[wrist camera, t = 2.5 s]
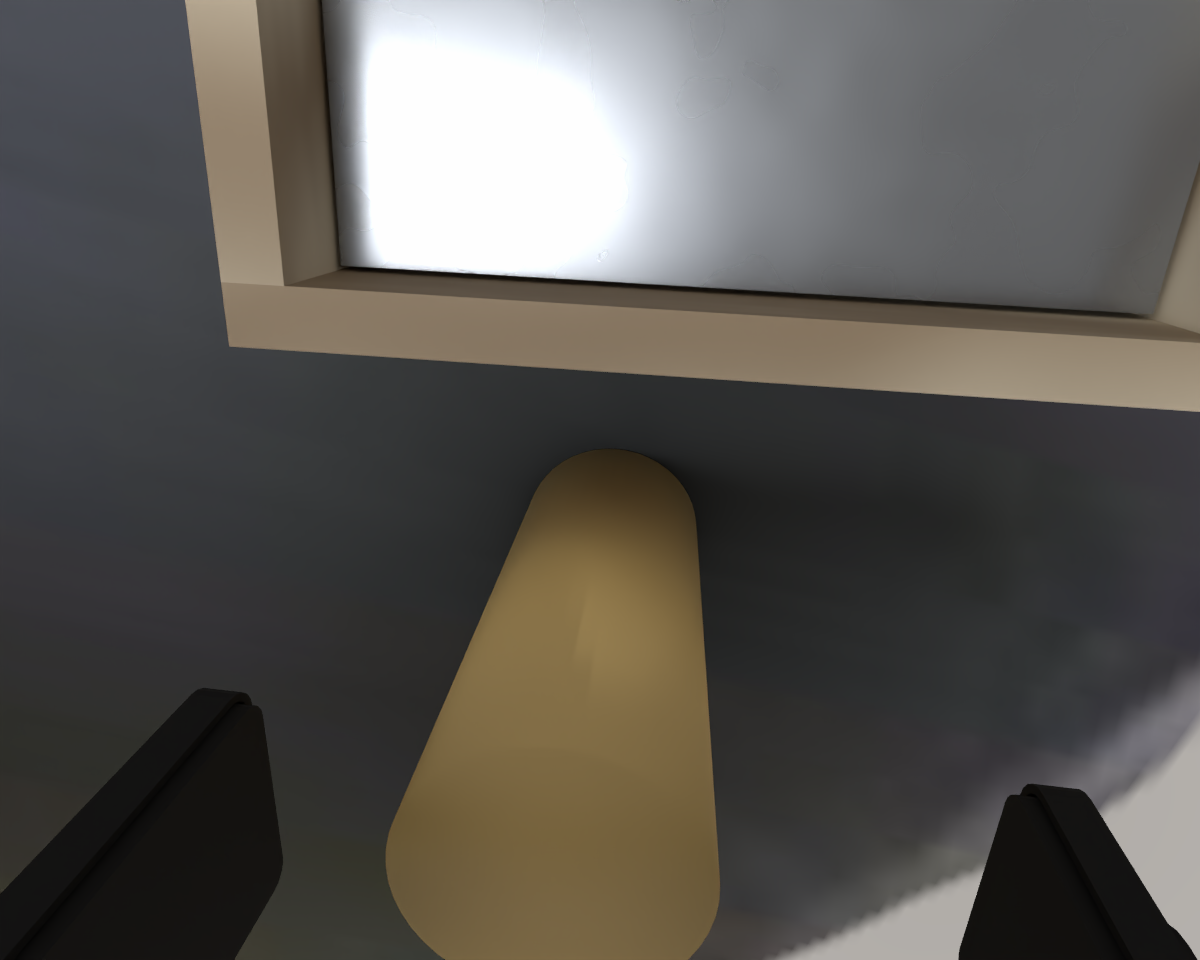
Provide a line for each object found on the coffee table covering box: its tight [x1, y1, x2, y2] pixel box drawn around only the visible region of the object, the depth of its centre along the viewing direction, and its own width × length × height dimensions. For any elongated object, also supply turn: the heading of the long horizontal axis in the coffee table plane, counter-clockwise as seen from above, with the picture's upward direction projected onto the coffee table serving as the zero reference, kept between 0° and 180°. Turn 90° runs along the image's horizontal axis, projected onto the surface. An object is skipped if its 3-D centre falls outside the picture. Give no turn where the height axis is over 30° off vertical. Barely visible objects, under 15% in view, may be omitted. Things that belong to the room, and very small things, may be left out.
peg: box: [386, 449, 720, 960], centre depth 14 cm, size 4×4×10 cm
